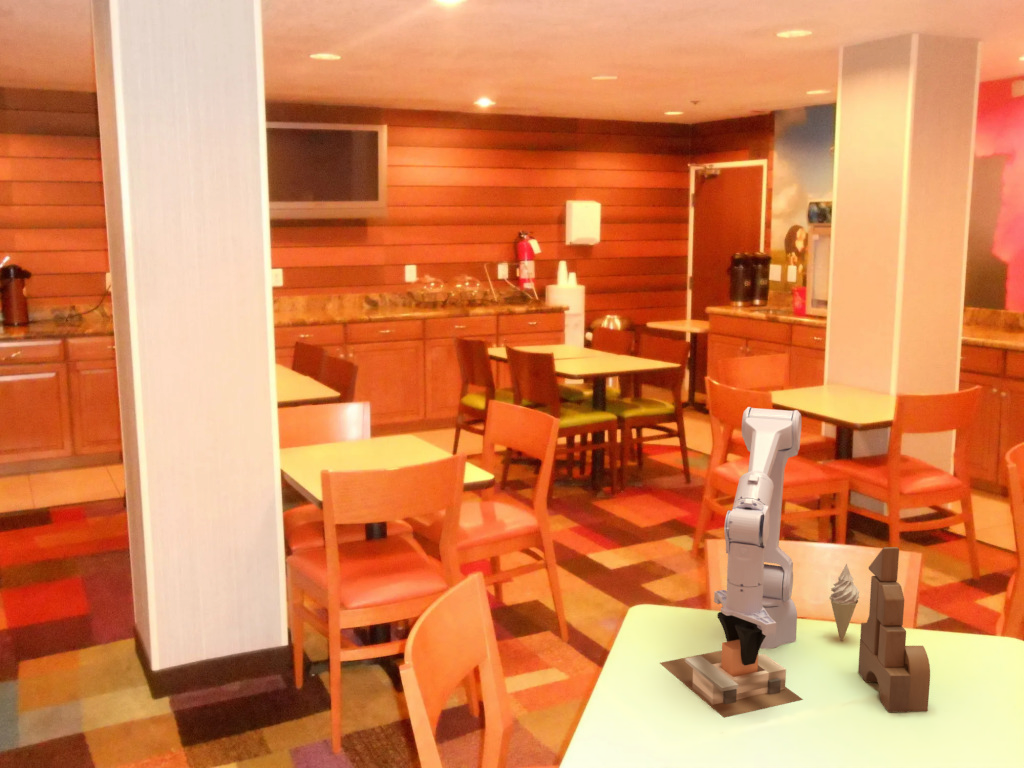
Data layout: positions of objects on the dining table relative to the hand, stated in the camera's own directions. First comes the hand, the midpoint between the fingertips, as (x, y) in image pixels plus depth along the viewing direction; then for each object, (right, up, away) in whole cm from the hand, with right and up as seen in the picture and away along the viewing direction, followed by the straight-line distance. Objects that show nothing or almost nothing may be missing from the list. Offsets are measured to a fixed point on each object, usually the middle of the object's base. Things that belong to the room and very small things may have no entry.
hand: (742, 658), depth 157 cm
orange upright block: (0, -3, 0) cm, 3 cm away
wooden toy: (+25, -6, +2) cm, 26 cm away
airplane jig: (-2, -6, +4) cm, 7 cm away
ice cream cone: (+23, -3, +21) cm, 31 cm away
